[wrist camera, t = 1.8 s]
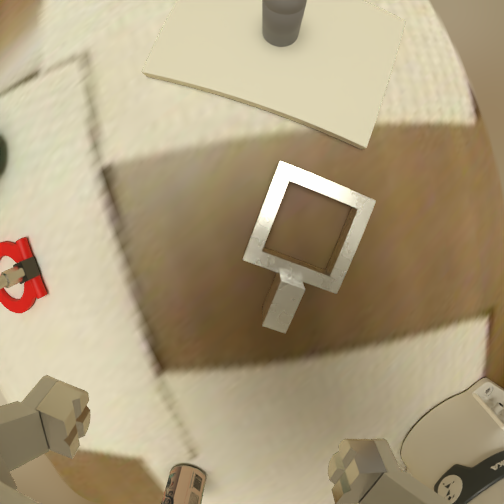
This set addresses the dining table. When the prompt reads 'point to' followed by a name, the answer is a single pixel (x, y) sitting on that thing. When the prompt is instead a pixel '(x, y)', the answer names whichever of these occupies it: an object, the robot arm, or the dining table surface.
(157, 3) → the dining table surface
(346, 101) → the board
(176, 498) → the beer can
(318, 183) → the steel link
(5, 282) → the tow hook
